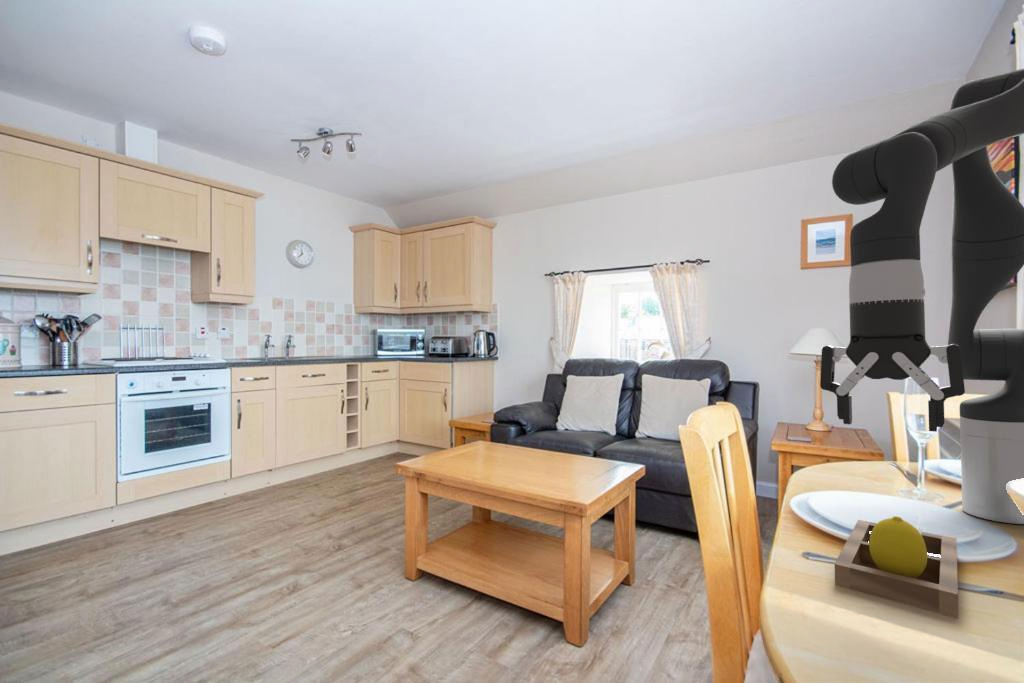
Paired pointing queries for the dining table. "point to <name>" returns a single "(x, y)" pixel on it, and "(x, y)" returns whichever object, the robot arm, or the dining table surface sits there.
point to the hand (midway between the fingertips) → (888, 426)
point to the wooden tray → (924, 591)
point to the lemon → (898, 548)
